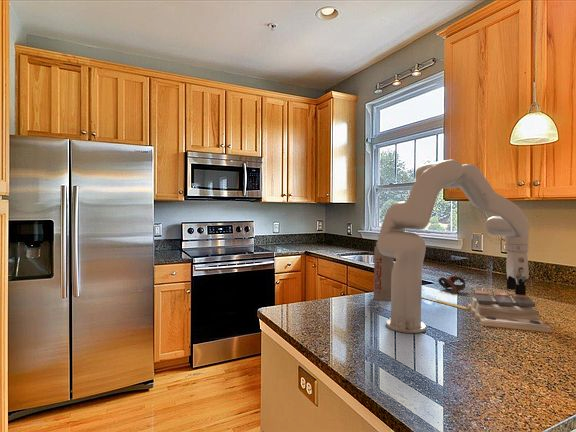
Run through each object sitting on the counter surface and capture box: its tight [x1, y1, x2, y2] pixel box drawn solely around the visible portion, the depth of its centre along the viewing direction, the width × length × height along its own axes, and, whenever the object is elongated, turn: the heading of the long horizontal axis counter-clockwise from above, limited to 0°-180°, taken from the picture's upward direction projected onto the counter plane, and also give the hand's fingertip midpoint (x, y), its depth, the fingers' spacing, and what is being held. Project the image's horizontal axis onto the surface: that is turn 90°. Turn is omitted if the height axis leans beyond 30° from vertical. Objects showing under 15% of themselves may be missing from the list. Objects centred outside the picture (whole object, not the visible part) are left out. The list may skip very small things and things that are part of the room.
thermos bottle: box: [373, 234, 394, 302], centre depth 148 cm, size 8×8×28 cm
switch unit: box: [467, 296, 553, 333], centre depth 123 cm, size 22×20×5 cm
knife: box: [421, 295, 470, 311], centre depth 147 cm, size 1×32×5 cm
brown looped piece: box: [437, 275, 467, 294], centre depth 164 cm, size 12×10×8 cm
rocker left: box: [473, 289, 494, 304], centre depth 127 cm, size 8×5×2 cm, turn 163°
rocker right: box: [511, 293, 536, 308], centre depth 123 cm, size 8×5×2 cm, turn 163°
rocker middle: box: [492, 291, 514, 306], centre depth 125 cm, size 8×5×2 cm, turn 163°
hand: (515, 292), depth 131 cm, fingers open, 9 cm apart
